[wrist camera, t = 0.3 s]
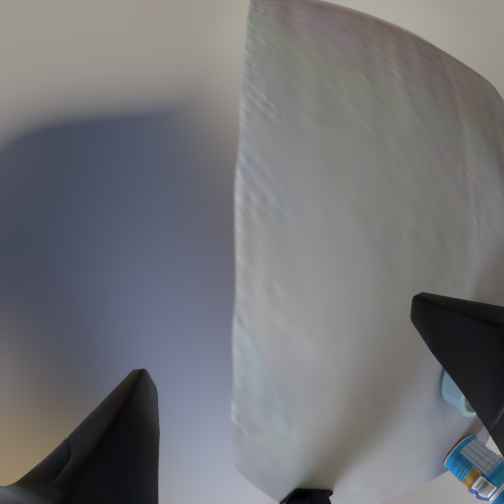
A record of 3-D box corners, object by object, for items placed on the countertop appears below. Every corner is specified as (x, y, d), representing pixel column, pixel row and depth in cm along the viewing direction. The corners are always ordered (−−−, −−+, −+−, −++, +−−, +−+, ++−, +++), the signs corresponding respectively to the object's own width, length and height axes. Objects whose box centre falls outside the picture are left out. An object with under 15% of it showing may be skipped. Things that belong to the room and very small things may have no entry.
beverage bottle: (471, 427, 29) (532, 472, 9) (474, 441, 29) (526, 483, 9) (439, 459, 28) (495, 513, 8) (445, 470, 29) (493, 518, 9)
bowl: (466, 406, 28) (484, 418, 23) (422, 396, 26) (444, 414, 21) (506, 326, 28) (526, 333, 23) (472, 296, 26) (499, 302, 21)
